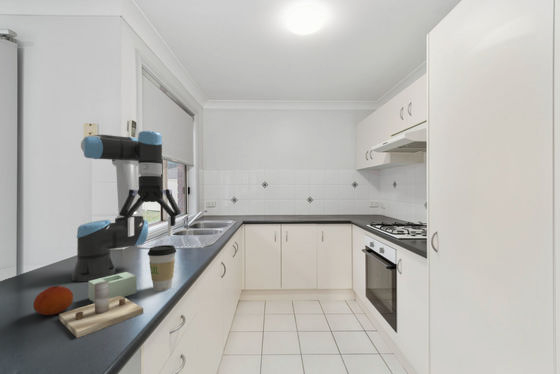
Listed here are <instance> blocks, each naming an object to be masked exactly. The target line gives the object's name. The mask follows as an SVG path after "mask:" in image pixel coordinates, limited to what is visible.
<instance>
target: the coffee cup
mask: <svg viewBox="0 0 560 374" xmlns="http://www.w3.org/2000/svg"><path fill="white" fill-rule="evenodd" d="M176 253H177V249H176V247H175V245H171V244H167V245H166V244H164V245H156V246H152V247H150V248H149V249H148V252H147V256H148V258H149V259H148V260H149V270H150V276H151V282H152V287H153V289H152V290H153V291H156V292H162V291H163V290H164V291H167V290H169V288H170V289H171V288H172V286H173V277H174V272H175V271H174V269H175V263H176V262H175V260H176V258H175V257H176ZM164 291H163V292H164Z"/></svg>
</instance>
